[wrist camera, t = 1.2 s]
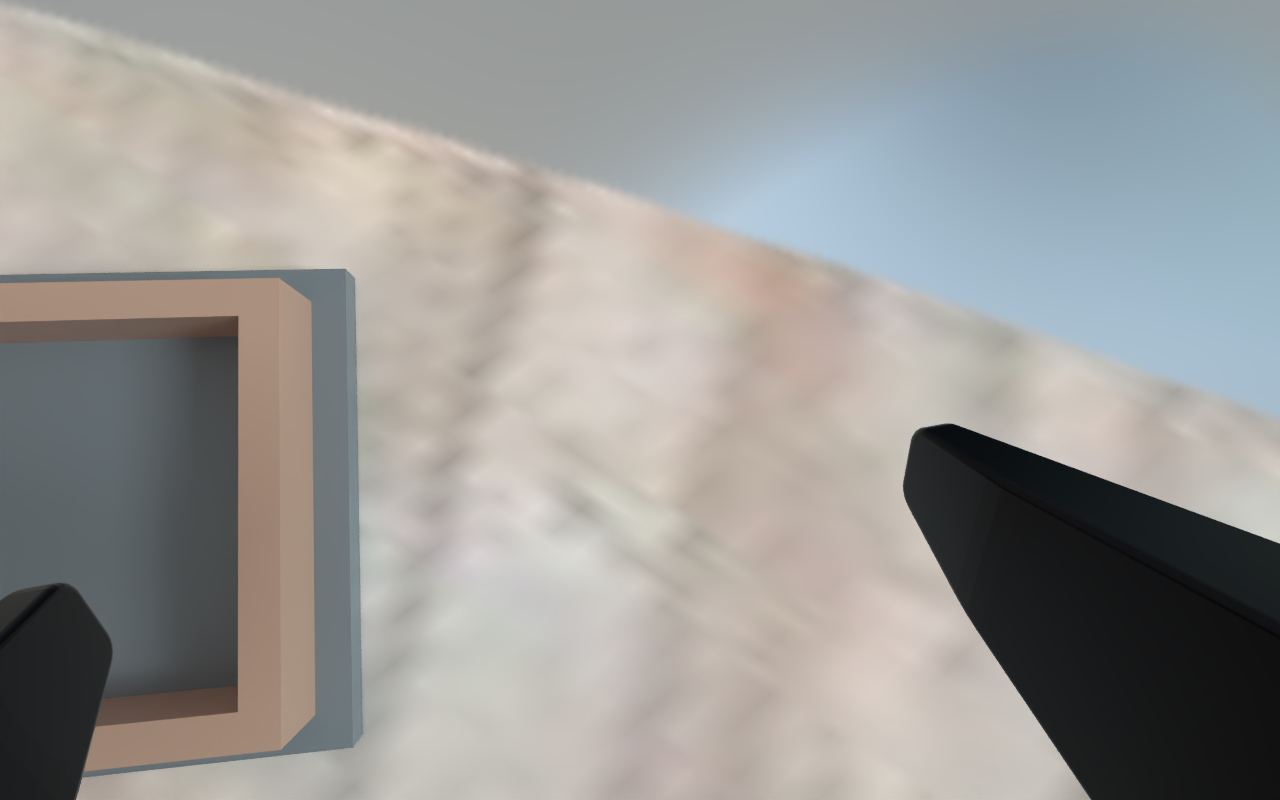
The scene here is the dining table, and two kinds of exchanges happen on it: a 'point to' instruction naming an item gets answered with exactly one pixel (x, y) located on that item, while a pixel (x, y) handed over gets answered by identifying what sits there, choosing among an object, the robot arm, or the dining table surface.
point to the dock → (192, 500)
